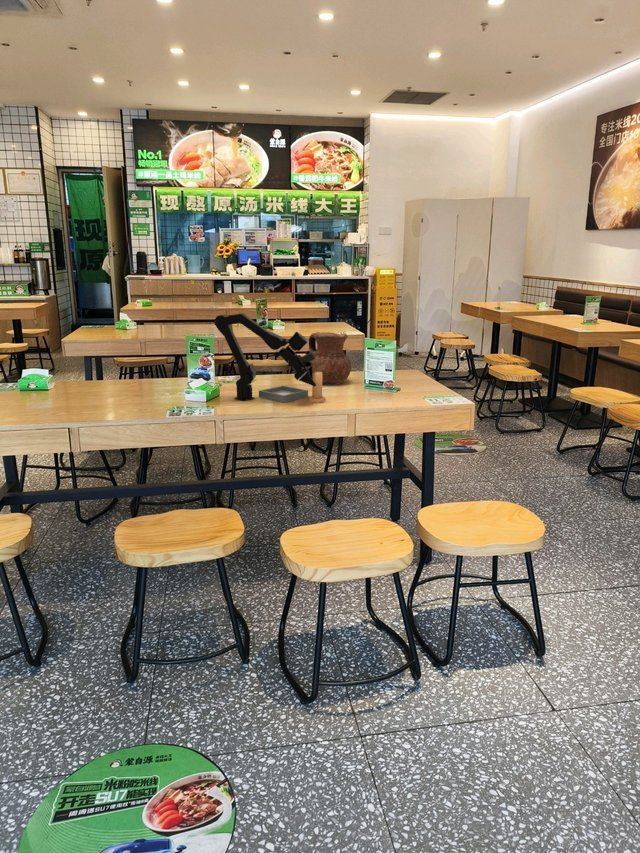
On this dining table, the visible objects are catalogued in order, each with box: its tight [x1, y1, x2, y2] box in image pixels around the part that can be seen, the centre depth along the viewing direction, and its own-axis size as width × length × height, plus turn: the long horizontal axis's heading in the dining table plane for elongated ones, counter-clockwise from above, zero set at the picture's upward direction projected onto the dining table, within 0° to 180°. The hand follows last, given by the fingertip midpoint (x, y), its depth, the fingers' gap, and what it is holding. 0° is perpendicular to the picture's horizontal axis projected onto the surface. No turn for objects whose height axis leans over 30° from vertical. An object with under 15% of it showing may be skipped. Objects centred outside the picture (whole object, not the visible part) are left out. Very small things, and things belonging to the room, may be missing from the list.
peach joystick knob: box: [308, 372, 326, 404], centre depth 277 cm, size 7×7×13 cm
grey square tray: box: [258, 385, 309, 403], centre depth 286 cm, size 16×16×3 cm
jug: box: [308, 331, 353, 385], centre depth 316 cm, size 22×21×25 cm
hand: (316, 383), depth 276 cm, fingers open, 9 cm apart
